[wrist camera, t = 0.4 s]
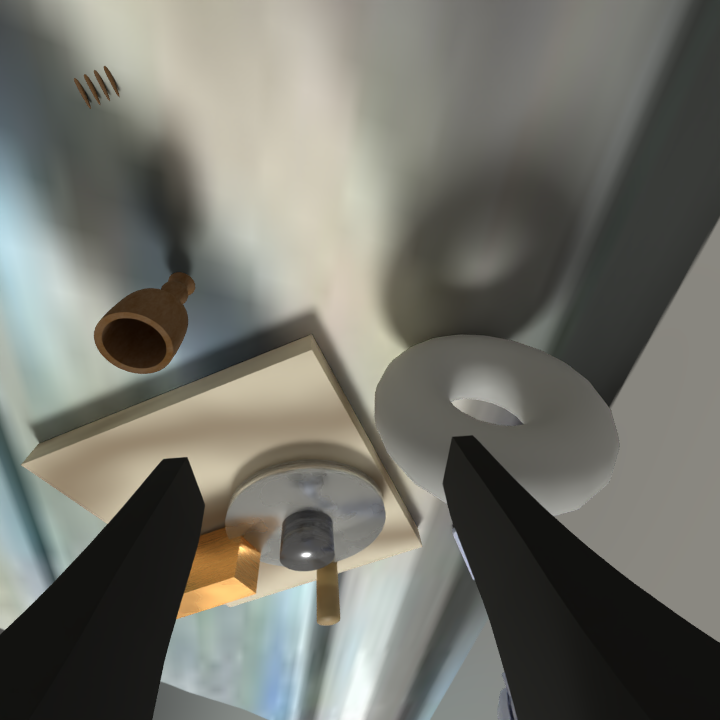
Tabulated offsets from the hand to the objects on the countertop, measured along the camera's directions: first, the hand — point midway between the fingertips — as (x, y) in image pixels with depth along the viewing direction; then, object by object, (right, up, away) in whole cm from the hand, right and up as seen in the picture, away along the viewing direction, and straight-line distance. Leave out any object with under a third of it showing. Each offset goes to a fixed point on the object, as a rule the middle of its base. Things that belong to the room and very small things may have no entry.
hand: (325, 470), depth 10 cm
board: (-6, -6, +15) cm, 17 cm away
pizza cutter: (-5, -8, +14) cm, 17 cm away
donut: (+6, +4, +10) cm, 12 cm away
